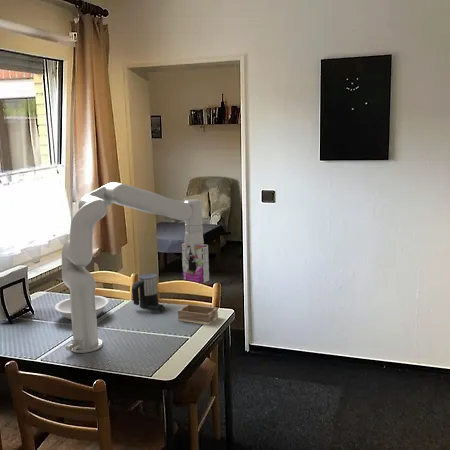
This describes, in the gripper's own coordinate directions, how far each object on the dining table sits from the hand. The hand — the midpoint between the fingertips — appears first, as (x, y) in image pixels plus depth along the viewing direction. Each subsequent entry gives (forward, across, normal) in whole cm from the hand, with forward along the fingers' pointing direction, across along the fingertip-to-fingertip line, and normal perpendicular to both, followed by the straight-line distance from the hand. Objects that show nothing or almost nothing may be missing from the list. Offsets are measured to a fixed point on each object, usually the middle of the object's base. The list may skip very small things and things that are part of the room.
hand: (195, 268), depth 232 cm
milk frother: (+24, -6, -27) cm, 37 cm away
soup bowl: (+24, +16, -51) cm, 58 cm away
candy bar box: (+6, 0, 0) cm, 6 cm away
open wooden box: (+23, 0, 0) cm, 23 cm away
